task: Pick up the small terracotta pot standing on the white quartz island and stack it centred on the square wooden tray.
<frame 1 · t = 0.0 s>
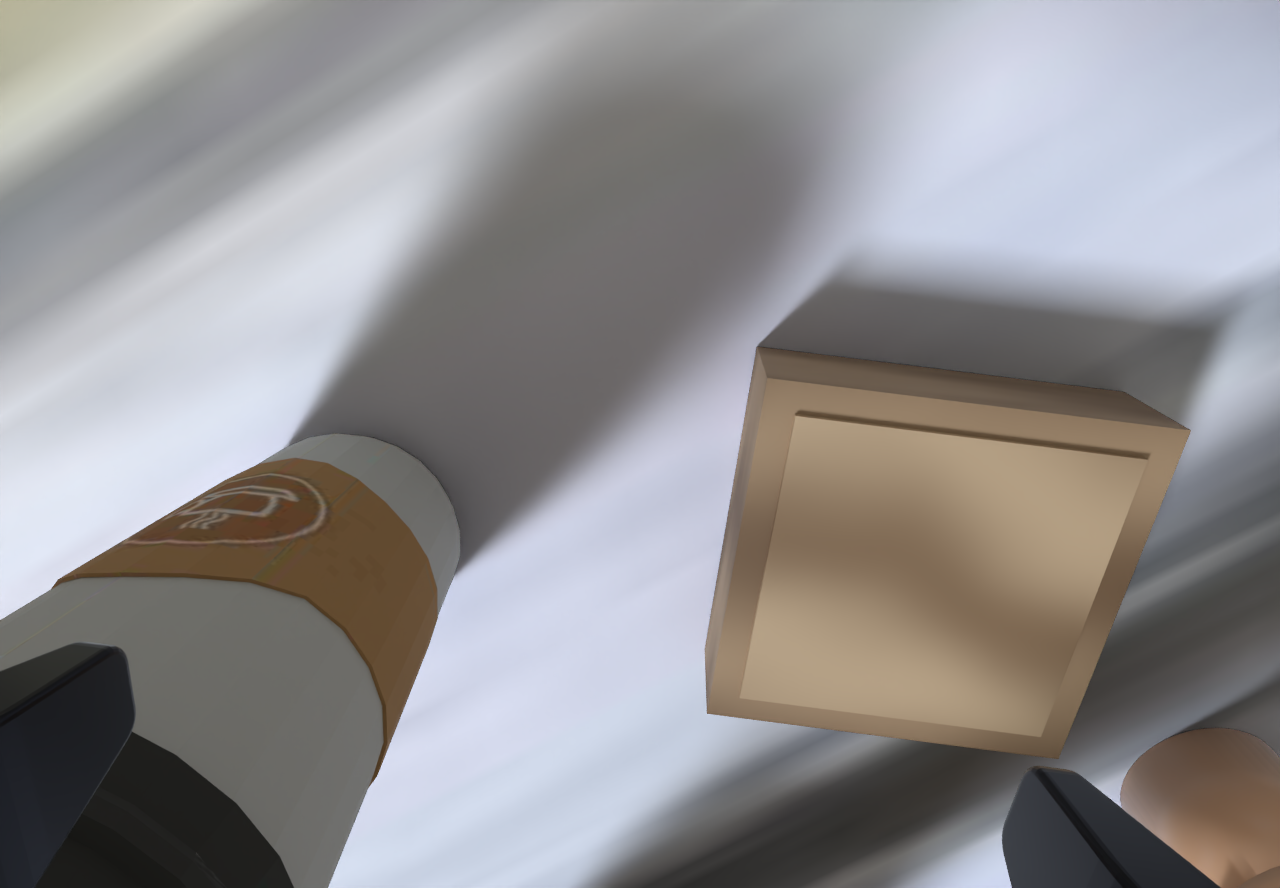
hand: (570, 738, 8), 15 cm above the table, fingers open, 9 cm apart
square wooden tray: (896, 531, 23), on the table
terracotta pot: (1199, 787, 26), on the table
coffee cup: (366, 519, 24), on the table
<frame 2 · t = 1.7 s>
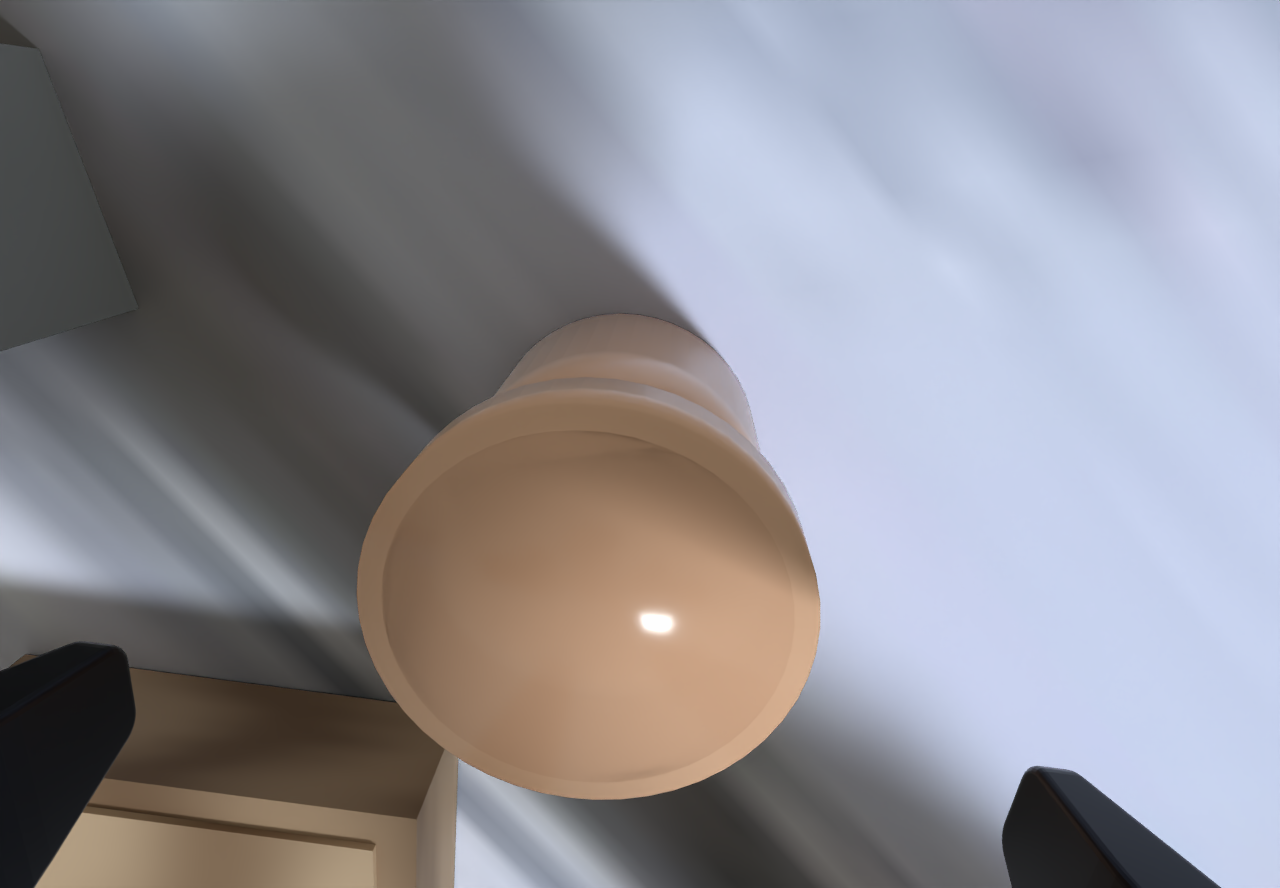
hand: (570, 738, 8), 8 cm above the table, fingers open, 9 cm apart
square wooden tray: (257, 842, 19), on the table
terracotta pot: (623, 441, 15), on the table
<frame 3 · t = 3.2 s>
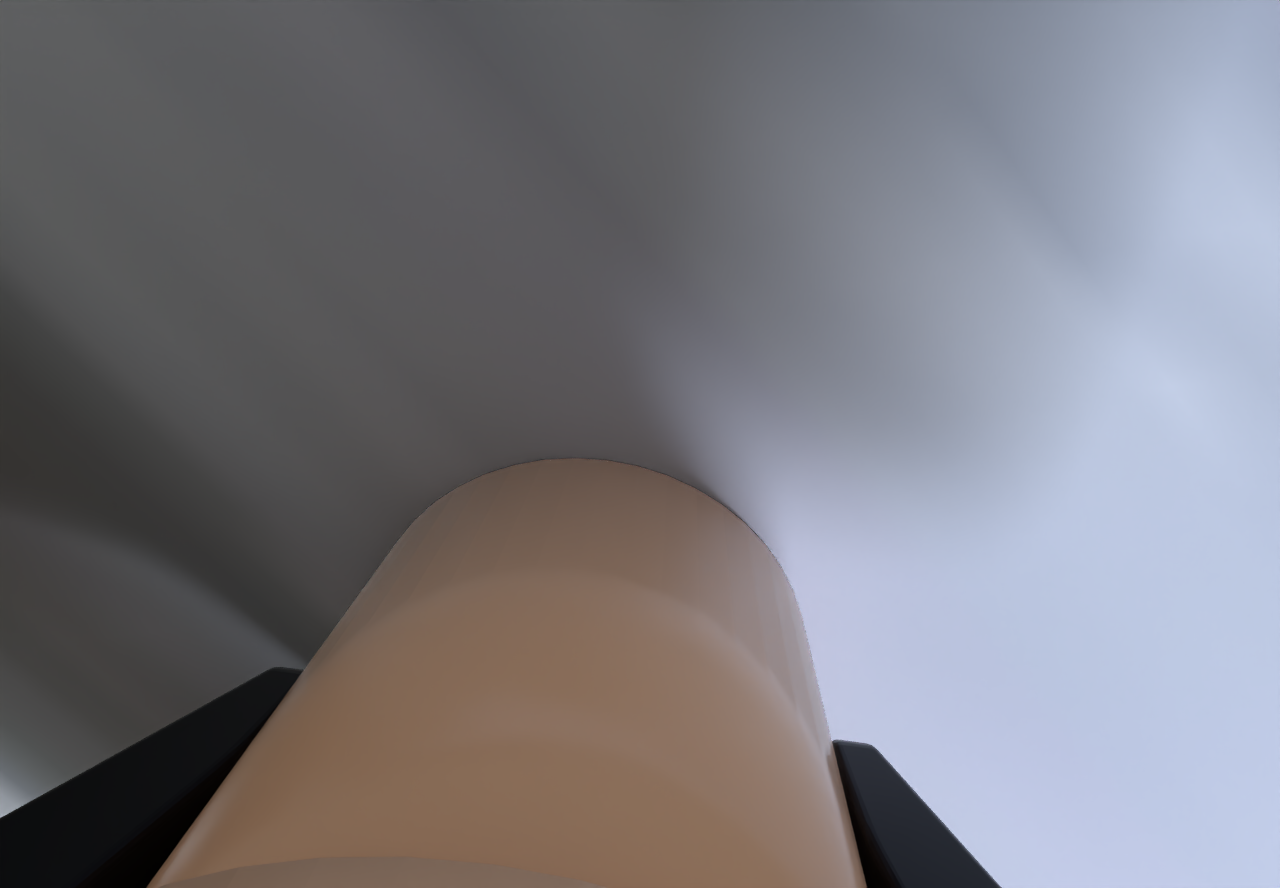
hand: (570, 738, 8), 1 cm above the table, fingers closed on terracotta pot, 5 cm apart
terracotta pot: (585, 659, 9), on the table, touching gripper
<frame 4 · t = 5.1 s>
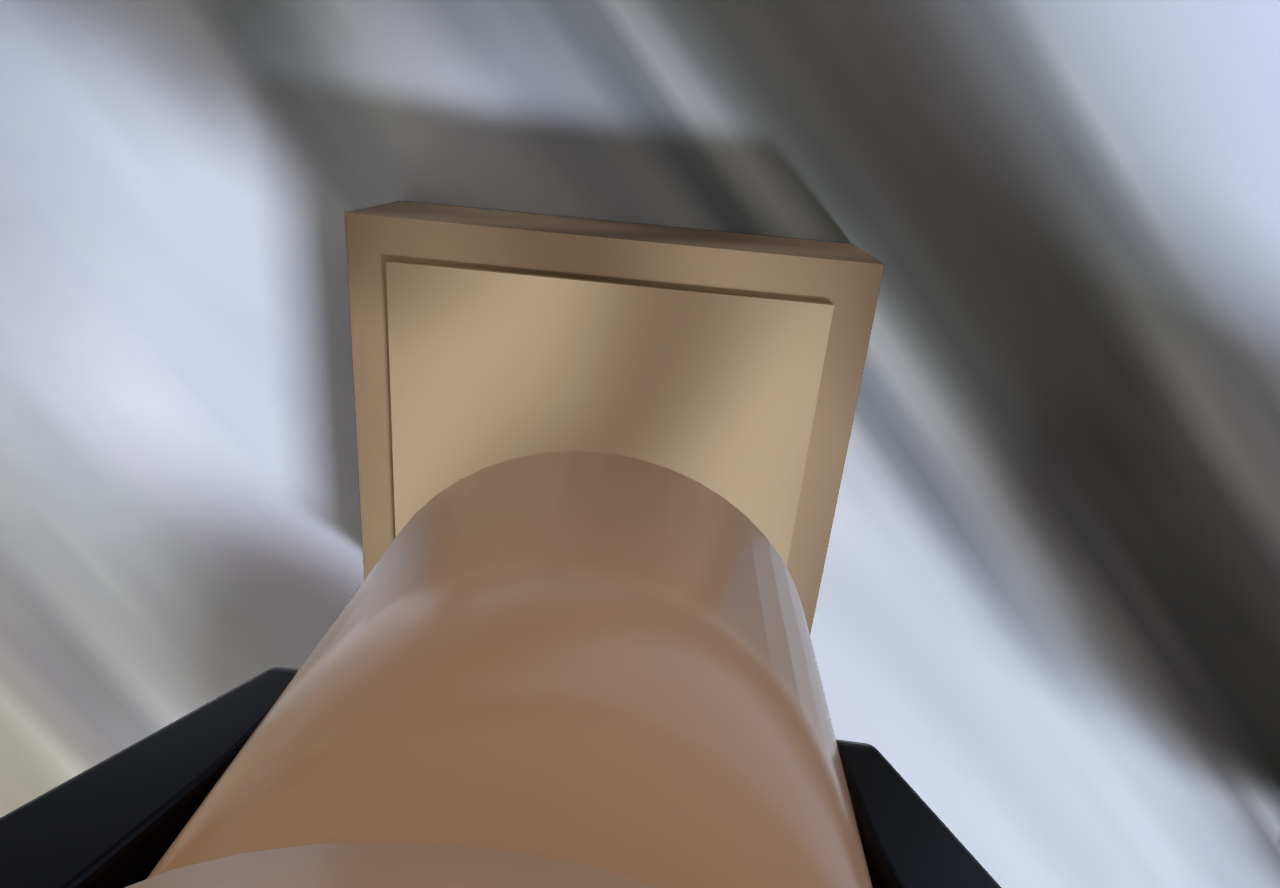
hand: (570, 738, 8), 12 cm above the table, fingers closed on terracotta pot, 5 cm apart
square wooden tray: (608, 433, 19), on the table
terracotta pot: (586, 653, 9), point 10 cm above the table, touching gripper
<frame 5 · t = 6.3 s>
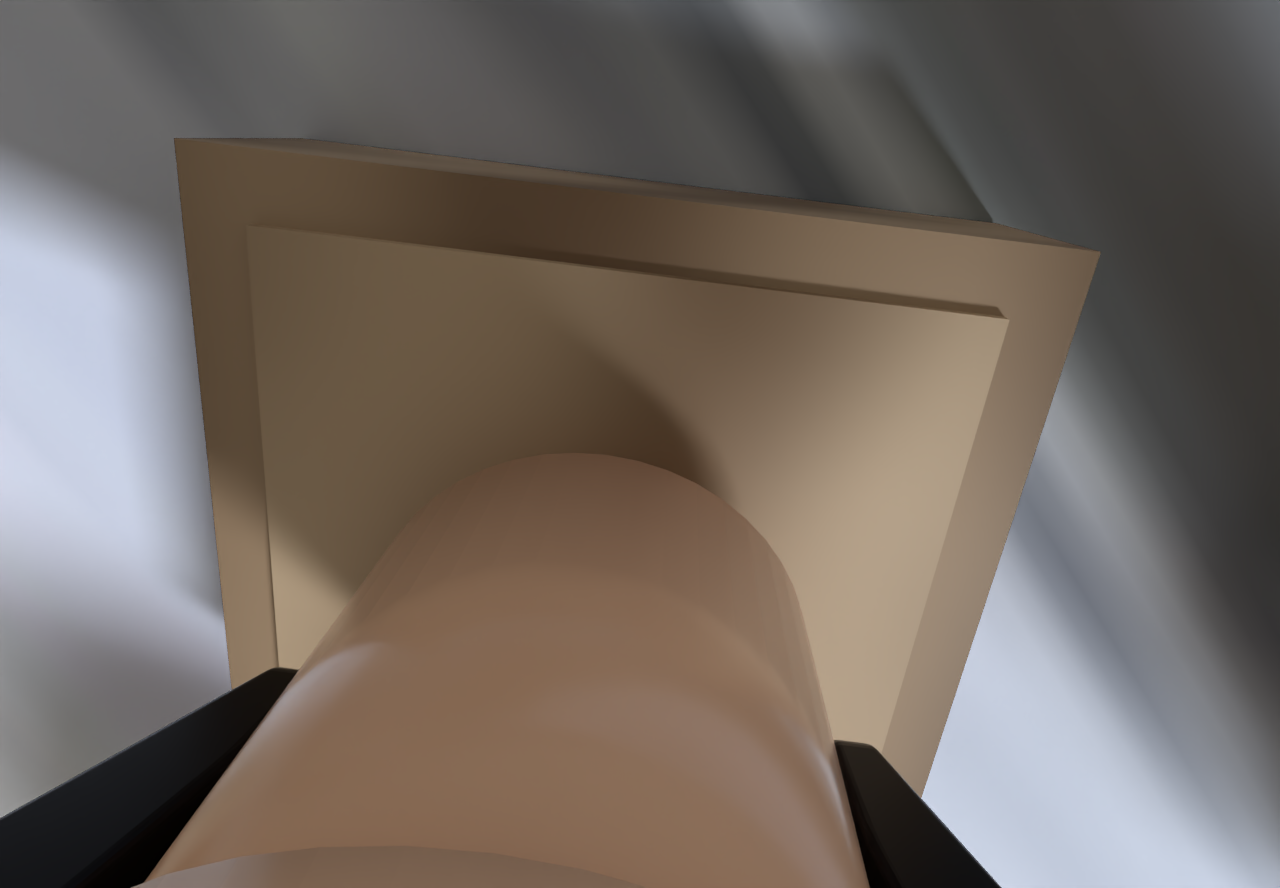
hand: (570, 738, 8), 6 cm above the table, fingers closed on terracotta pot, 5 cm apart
square wooden tray: (613, 494, 13), on the table
terracotta pot: (584, 655, 9), point 4 cm above the table, touching gripper
when the fingers open (5 cm above the table, at t = 7.1 s): terracotta pot drops 1 cm, resting on square wooden tray.
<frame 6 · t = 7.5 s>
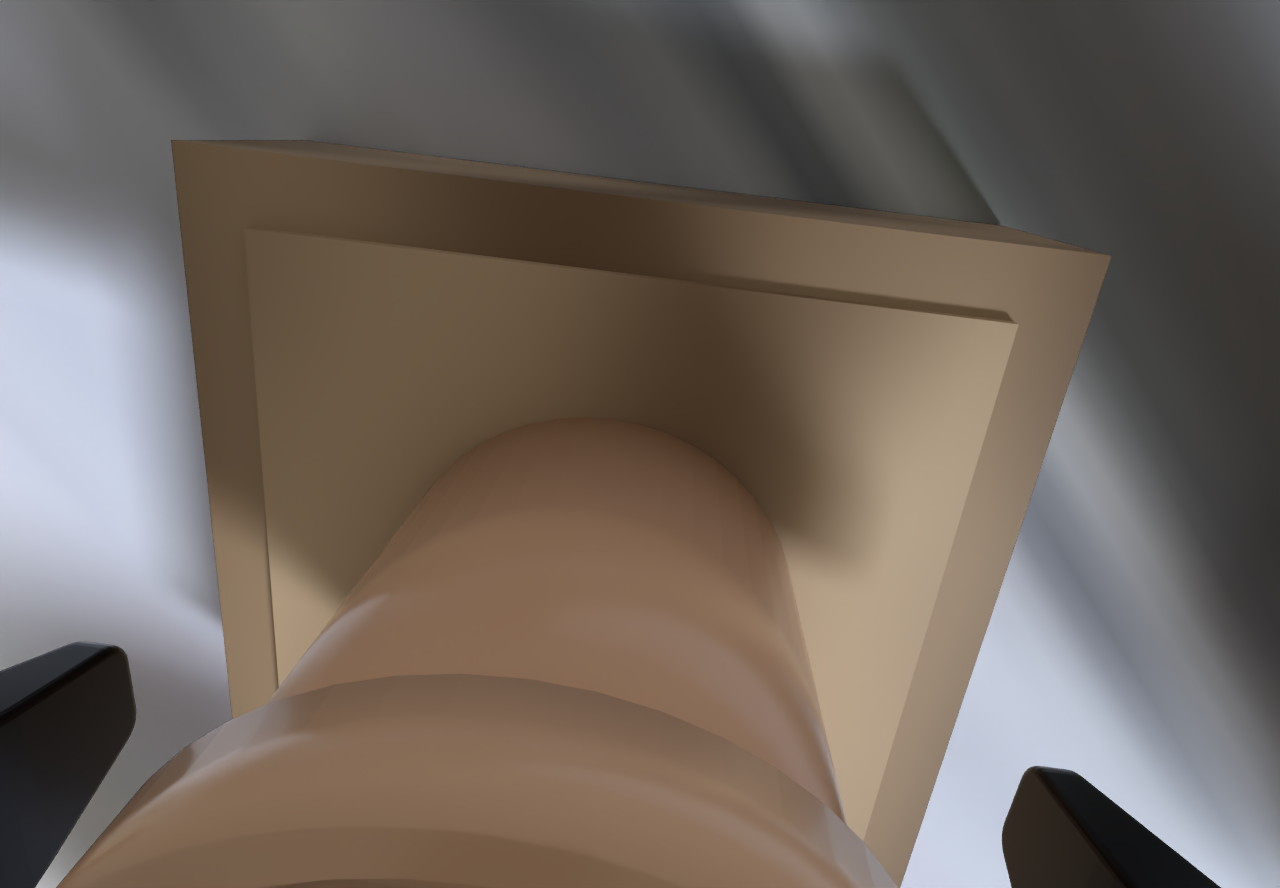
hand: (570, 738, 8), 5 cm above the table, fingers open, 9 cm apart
square wooden tray: (615, 499, 13), on the table
terracotta pot: (592, 602, 10), point 3 cm above the table, touching square wooden tray
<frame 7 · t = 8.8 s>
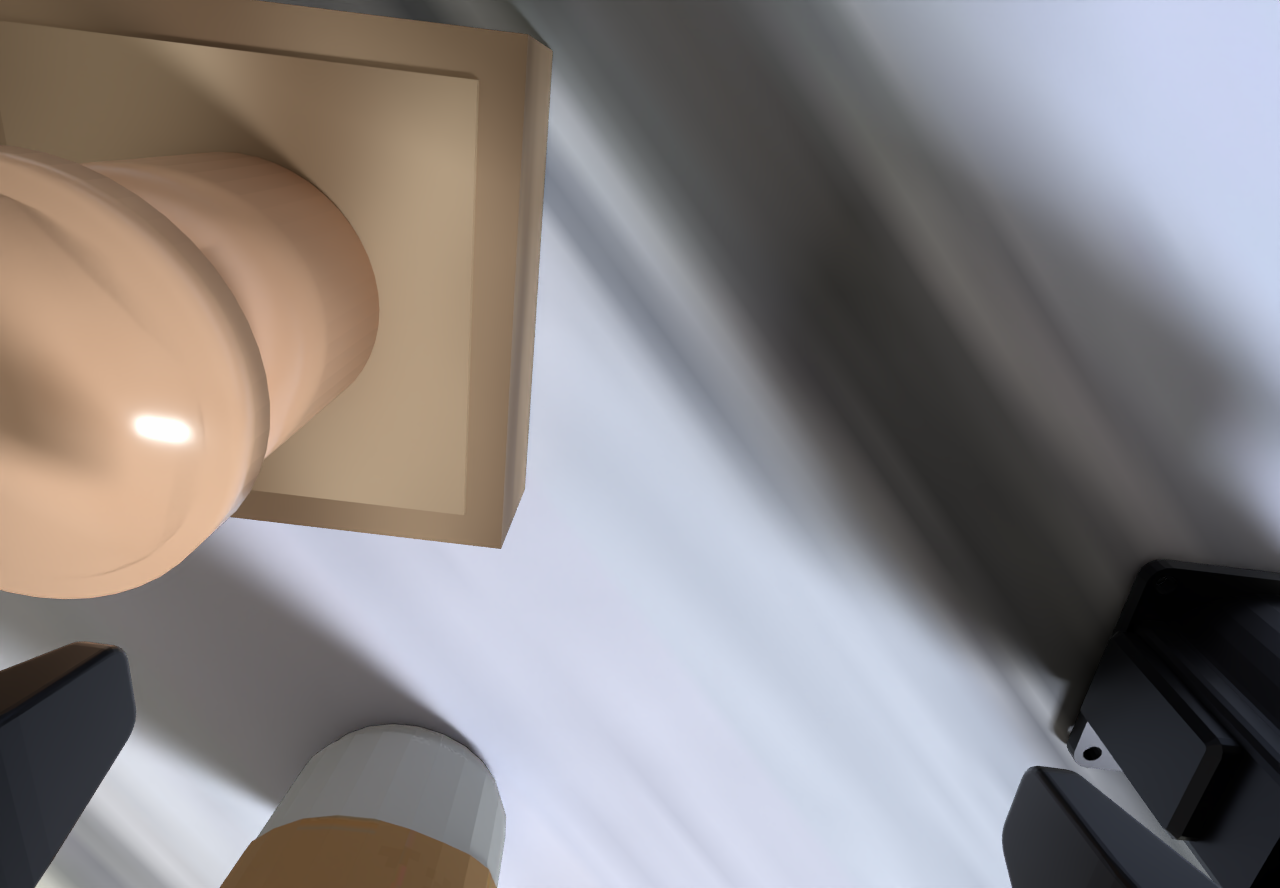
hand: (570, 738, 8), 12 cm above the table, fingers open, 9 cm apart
square wooden tray: (319, 267, 18), on the table
terracotta pot: (248, 292, 15), point 3 cm above the table, touching square wooden tray
coffee cup: (409, 793, 24), on the table
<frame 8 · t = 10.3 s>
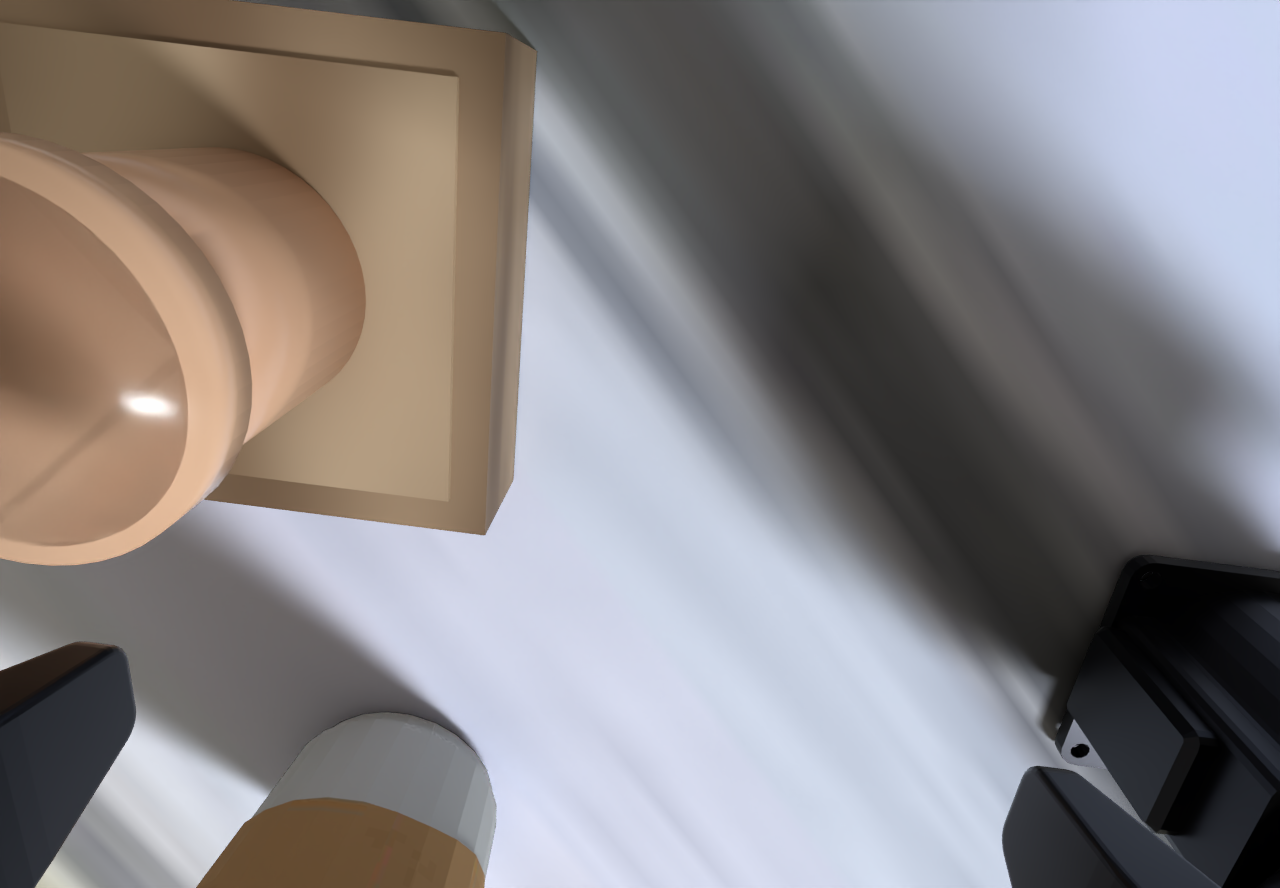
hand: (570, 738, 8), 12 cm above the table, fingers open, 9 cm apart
square wooden tray: (313, 261, 18), on the table
terracotta pot: (239, 282, 15), point 3 cm above the table, touching square wooden tray
coffee cup: (402, 781, 24), on the table
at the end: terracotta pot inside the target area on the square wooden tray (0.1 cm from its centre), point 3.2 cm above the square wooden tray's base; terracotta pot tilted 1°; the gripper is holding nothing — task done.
